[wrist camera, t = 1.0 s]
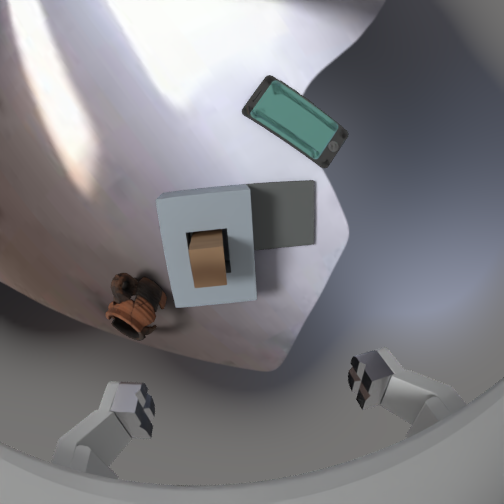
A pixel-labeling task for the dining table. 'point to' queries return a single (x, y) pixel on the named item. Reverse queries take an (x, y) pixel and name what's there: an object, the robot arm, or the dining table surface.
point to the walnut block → (207, 258)
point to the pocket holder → (201, 219)
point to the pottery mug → (134, 305)
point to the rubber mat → (282, 214)
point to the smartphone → (295, 121)
